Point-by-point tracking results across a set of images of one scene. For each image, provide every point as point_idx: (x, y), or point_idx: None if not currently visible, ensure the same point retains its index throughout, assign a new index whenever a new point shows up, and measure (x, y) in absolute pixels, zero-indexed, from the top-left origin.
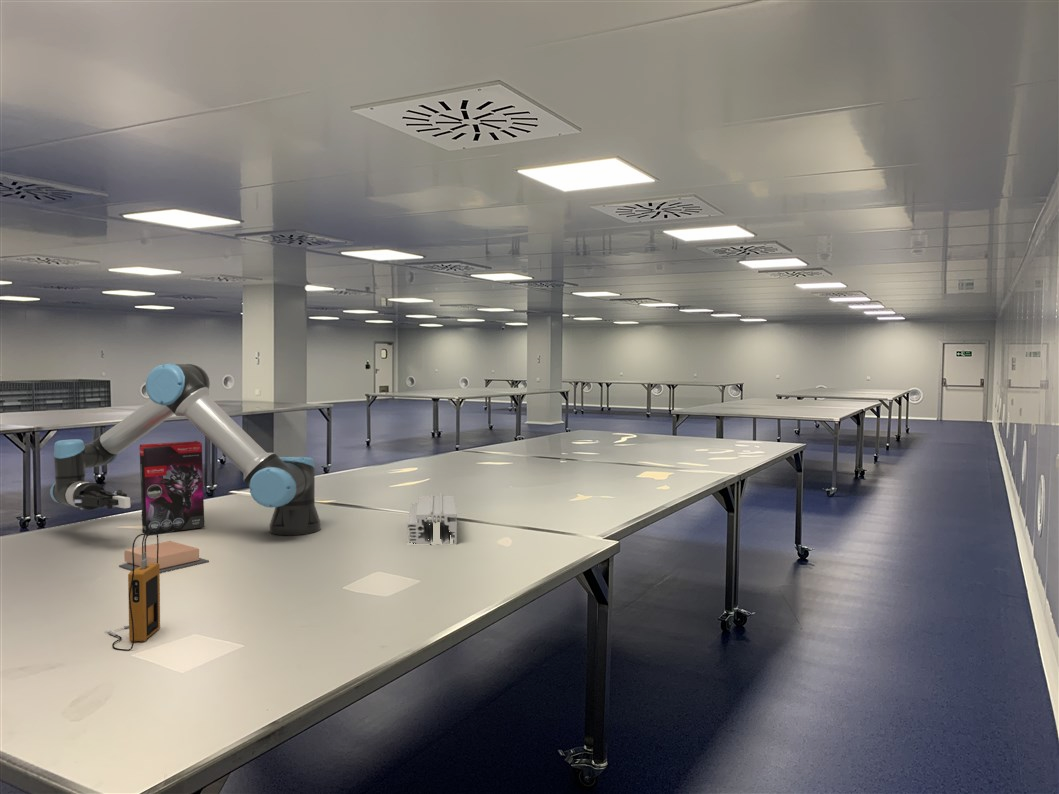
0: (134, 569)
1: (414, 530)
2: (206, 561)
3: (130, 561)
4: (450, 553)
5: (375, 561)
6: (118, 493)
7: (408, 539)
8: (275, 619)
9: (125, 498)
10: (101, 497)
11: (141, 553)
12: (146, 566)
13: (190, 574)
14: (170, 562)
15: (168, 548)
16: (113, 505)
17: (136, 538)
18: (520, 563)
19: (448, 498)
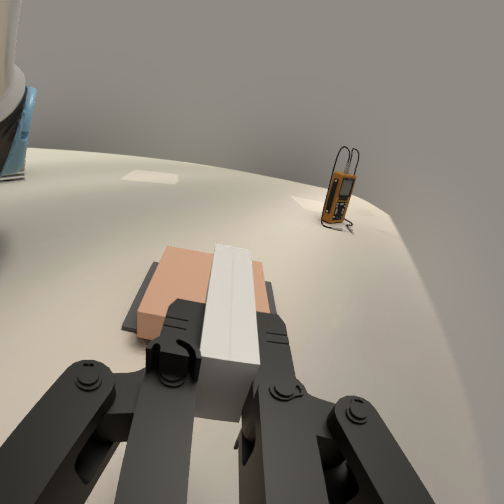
0: (273, 311)
1: (24, 162)
2: (158, 263)
3: None
4: (53, 168)
5: (89, 182)
6: (192, 343)
7: (17, 176)
8: (254, 193)
9: (243, 249)
10: (358, 402)
11: (259, 290)
12: (344, 172)
13: None
14: None
15: (197, 277)
16: (239, 411)
17: (357, 151)
18: (77, 156)
19: None
